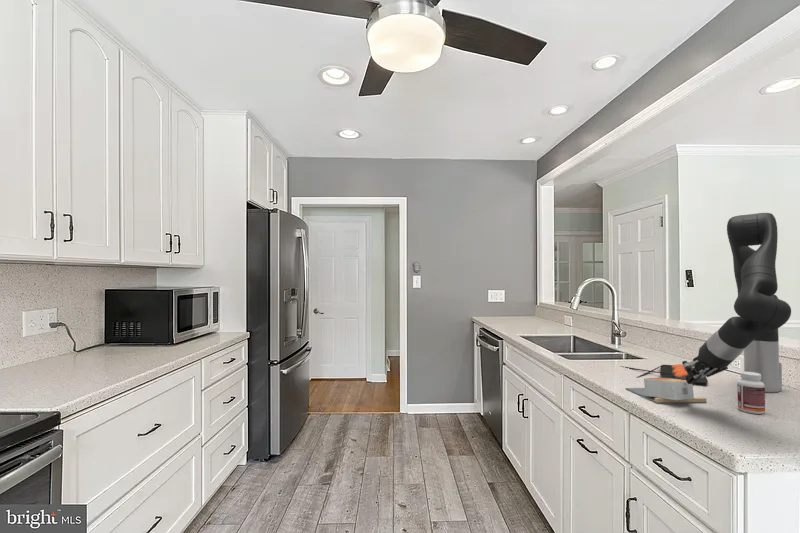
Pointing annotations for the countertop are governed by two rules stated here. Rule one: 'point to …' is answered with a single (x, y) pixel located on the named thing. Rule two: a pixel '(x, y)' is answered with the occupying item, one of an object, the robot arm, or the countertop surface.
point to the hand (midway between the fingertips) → (688, 381)
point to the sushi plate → (672, 373)
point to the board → (665, 401)
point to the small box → (668, 388)
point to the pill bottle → (751, 393)
